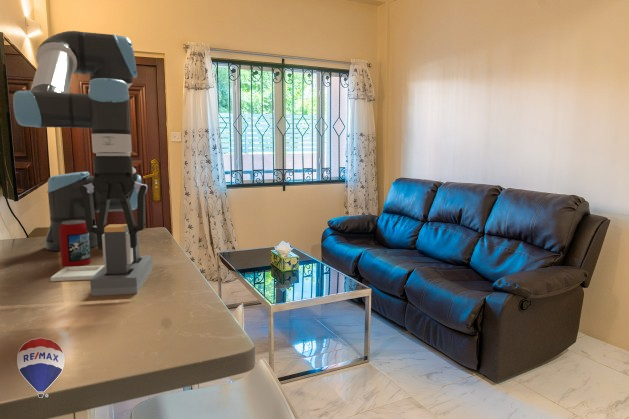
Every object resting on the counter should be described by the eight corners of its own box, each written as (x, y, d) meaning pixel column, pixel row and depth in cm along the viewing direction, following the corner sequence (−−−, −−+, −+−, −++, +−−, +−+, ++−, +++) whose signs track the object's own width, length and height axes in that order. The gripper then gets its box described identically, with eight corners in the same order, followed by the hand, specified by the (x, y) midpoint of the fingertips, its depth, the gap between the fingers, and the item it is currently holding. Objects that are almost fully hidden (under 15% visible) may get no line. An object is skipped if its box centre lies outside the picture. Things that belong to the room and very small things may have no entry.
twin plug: (122, 267, 108) (120, 226, 106) (140, 266, 109) (138, 226, 107) (118, 271, 104) (116, 229, 103) (136, 270, 105) (134, 229, 103)
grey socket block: (115, 272, 111) (114, 256, 110) (153, 270, 112) (152, 255, 112) (91, 298, 91) (90, 279, 91) (137, 295, 93) (136, 277, 92)
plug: (111, 268, 98) (109, 224, 96) (130, 268, 98) (128, 223, 97) (106, 273, 94) (104, 227, 92) (126, 272, 94) (124, 226, 93)
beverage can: (78, 270, 112) (75, 223, 111) (55, 268, 114) (52, 222, 112) (96, 263, 119) (93, 219, 117) (74, 262, 120) (71, 218, 118)
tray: (65, 272, 110) (65, 266, 110) (104, 271, 112) (104, 265, 111) (50, 283, 101) (50, 277, 101) (94, 281, 103) (93, 275, 102)
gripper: (62, 155, 88) (70, 269, 91) (152, 155, 91) (157, 265, 94) (74, 154, 95) (82, 260, 98) (157, 154, 98) (162, 257, 101)
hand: (118, 262), depth 96 cm, fingers closed on plug, 4 cm apart
